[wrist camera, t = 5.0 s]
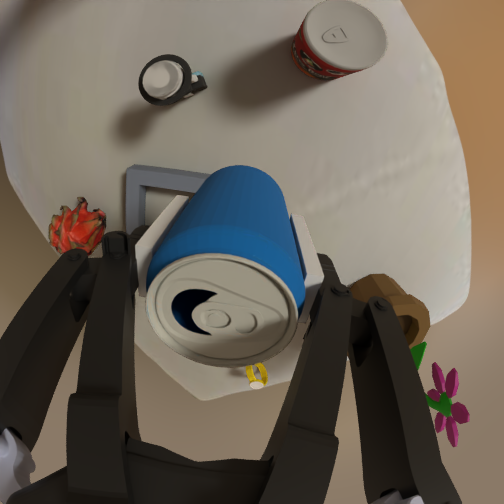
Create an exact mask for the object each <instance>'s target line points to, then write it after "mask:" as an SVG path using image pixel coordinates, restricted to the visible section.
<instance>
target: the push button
mask: <svg viewBox="0 0 504 504" xmlns="http://www.w3.org/2000/svg"><path fill="white" fill-rule="evenodd" d="M175 62H176V63H179V64H180V65H181V67H182V68H183V69H182V68H180V67H179V66H178V65H177V64H176V63H175ZM205 88H207V85H206V82H205V80H204V77H203V74H202V73H201V72H199V71H197V72H194V73H191V69H190V67H189V65H188V63H187V62H186V61H185V60H184V59H182V58H180V57H178V56H176V55H170V54H167V55H161V56H158V57H156V58H154V59H152V60H151V61H150V62H148V63H147V64H146V66H145V67H144V68H143V70H142V72H141V74H140V77H139V90H140V93H141V95H142V96H143V98H144V99H145V100H146V101H148V102H149V103H151V104H154V105H160V106H163V105H169V104H172V103H175V102H177V101H178V100H180V99H181V98H182V97H184V98H187V97H190V96H192V95H194V94H192V93H191V91H194V90H203V89H205ZM164 99H165V100H164Z"/></svg>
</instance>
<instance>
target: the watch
mask: <svg viewBox="0 0 504 504" xmlns="http://www.w3.org/2000/svg"><path fill="white" fill-rule="evenodd" d="M255 366H257V367H258V369H259V371H260V373H261V378H262V380H259V379H256V378H255V376H254V373H253V370H252V365H250V366H246V373H247V377H248V379H249V380H250V383H249V385H250V387H251V388H253V389H260V388H262V387H263V386H265V385H266V384H267V381H268V377H267V376H268V375H267V371H266V369H265V367H264V365H263V364H262V363H258V364H255Z"/></svg>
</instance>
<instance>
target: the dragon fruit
mask: <svg viewBox="0 0 504 504" xmlns="http://www.w3.org/2000/svg"><path fill="white" fill-rule="evenodd" d="M77 199H78V201H80V203H81V205H80V204H79V205H78V206H77V207H76V208H75V209H74V210H73V211H71V210H70V208H68V207H67V206H61V208H60V210H62V209H63V212H62V215H61V216H59V215H53V217H52V221H51V222H52V223H51V224H50V225H49V239H50V242H49V243H50V245H52V246H55V247H56V250H57V252H59V253H60V254H62V253H65V252H66V251H68V250H70V249H74V248H81V249H84V250H85V251H87V255H88V256H89V255H91V254H92V253H93V251H94V250H95V249H96V247H97V246H98V245H99V244H100V242H101V238H102V236H103V235H104V231H105V229H106V215H105V213H104V212H102V211H101V210H100V209H98V210H97V209H94V210H93V211H95V212H92V213H91V212H88V211H87V205H88V203H87V201H86V199H85V198H84V197H77ZM102 220H103V221H102Z"/></svg>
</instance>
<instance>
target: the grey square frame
mask: <svg viewBox="0 0 504 504" xmlns="http://www.w3.org/2000/svg"><path fill="white" fill-rule="evenodd" d="M209 176H210V174H204V173H198V172H191V171H184V170H177V169H169V168H161V167H153V166H144V165H135V164H134V165H133V166H131V167H129V168H127V174H126V233H128V234H129V235H130V234H131V233H132V232H133V230H134V229H135V228H137V227H139V226H141V225H145V197H146V186H152V187H159V188H166V189H173V190H180V191H186V192H193V193H196V192H197V191H198V189H199V188H200V186H201V185H202V184H203V182H204V181H205V180H206V179H207V178H208V177H209Z"/></svg>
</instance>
